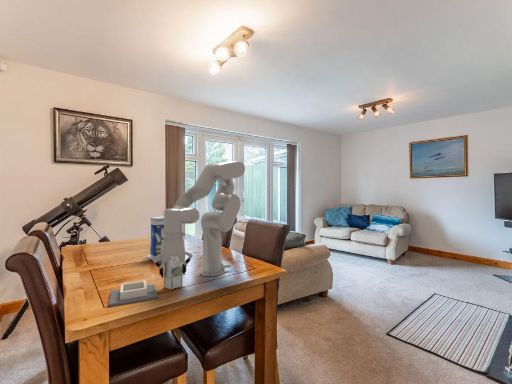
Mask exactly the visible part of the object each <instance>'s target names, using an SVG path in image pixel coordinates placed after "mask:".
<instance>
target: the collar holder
mask: <svg viewBox="0 0 512 384" xmlns="http://www.w3.org/2000/svg"><path fill="white" fill-rule="evenodd" d="M157 298H158V293H157V288H156V284H148V285H147V280H145V279H144V280H140V281H132V282H125V283H120V288H119V289H114V290H113V289H112V290H111V291H110V296H109V302H108V307H109V308H111V307H117V306H124V305H128V304H129V305H130V304H134V303H141V302H145V301H146V300H147V301H152V300H151V299H153V300H157ZM158 299H159V298H158Z"/></svg>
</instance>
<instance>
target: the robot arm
mask: <svg viewBox="0 0 512 384" xmlns="http://www.w3.org/2000/svg"><path fill="white" fill-rule="evenodd" d="M245 171H246V166H245V164H244V163H243V162H242V161H241V160H230V161H221V162H216V163H213V162H212V163H208V164H206V165H205V166H204V168H203V169H202V172H201V173H200V174H199V177H198V178H197V179H196V181H195V183H194V185H193V186H192V187H190V188H189V189H187V191H185V192H184V193H183V194H182V195H181V196H180V197H179V198H178V199H177V201H176V202H175V204H174V205H173V207H172V208H166V209H164V211H163V216H164V239H163V240H162V243H161V253H160V254H159V255H157V256H156V257H154V258H153V259H152V261H153V263H154V264H155V266H156V267H158V270H159V276H160V277H161V278H163V279H164V264H165V263H169V257H170V256H179V260H180V261H182V275H186V272H187V266H188V264H189V263H190V262H191V260H192V257H193V256H194V255H193V254H192V253H190V252H188V251H186V249H185V240H184V238H183V237H186V232H183V229H182V228H183V224H184V225H185V224H187V225H190V224H195V223H197V221H198V220H199V219H200V226H201V232H202V268H201V269H200V270H199V273H200V275H201V276H204V277H219V276H221V275H224V274H225V272H226V268H227V269H228V268H232V267H231V266H232V264H231V263H227V262H225V263H223V261H222V260H223V259H222V258H223V256H222V255H223V251H222V250H223V249H222V248H223V246H222V244H223V241H222V240H223V237H222V233H227V232H229V231H230V230H231V229H232V228H233V226H234V224H235V222H236V219H237V216H238V214H239V212H240V208H241V199H240V197H239V196H238V195H237V194H235V193H234V191H235V188H236V187H235V183H234V180H233V179H238V178H241V177H242V176H243V175H244V174H245ZM217 181H219V184H218V188H217V190H216V192H215V194H214V196H213V198H212V201H211V207H212V209H213V210H215V211H210V210H209V211H206V212H204V213H203V214H202V216H201V218H200V212H199V211H198V209H197V208H195V207H191V206H192V205H193V204H194V203H195V202H198V201H200V200H202V199H204V198H205V197H208V196H209V195H210V194H211V191H212V190H213V188H214V186H215V184H216V183H217ZM221 232H222V233H221ZM186 256H187V258H186ZM160 257H161V261H160V262H159V261H158V262H157V259H159V258H160Z"/></svg>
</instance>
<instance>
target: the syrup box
mask: <svg viewBox="0 0 512 384" xmlns="http://www.w3.org/2000/svg"><path fill="white" fill-rule="evenodd" d="M182 265H183V263H182V261H180V260H179V256H170V257H169V263H165V264H164V266H163V287H164V288H165V289H166V288H167V289H168V290H170V289H171V291H172V289H173V290H176V289H178V288H181V287H183V273H182ZM175 288H176V289H175Z"/></svg>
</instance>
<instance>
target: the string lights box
mask: <svg viewBox="0 0 512 384" xmlns="http://www.w3.org/2000/svg"><path fill="white" fill-rule="evenodd" d="M163 239H164V215H163V216H151V217H150V260H152V259H153V258H154V257H156V256H157V255H159V254H160V253H161V243H162V240H163ZM152 261H153V260H152ZM157 262H158V263H159V262H161V257H160V258H159V259H157Z"/></svg>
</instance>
